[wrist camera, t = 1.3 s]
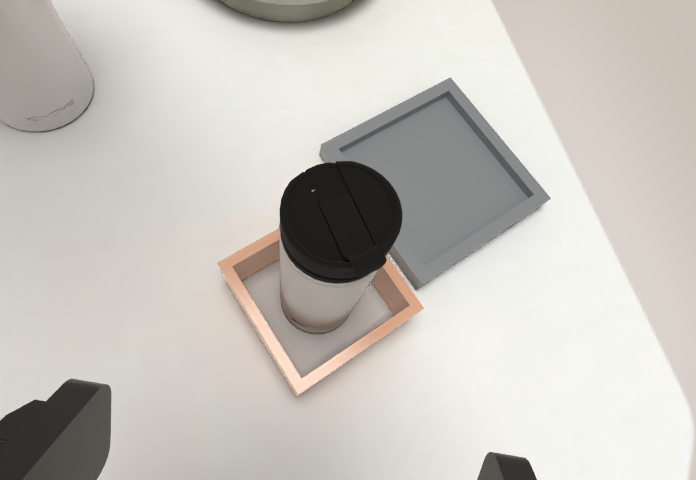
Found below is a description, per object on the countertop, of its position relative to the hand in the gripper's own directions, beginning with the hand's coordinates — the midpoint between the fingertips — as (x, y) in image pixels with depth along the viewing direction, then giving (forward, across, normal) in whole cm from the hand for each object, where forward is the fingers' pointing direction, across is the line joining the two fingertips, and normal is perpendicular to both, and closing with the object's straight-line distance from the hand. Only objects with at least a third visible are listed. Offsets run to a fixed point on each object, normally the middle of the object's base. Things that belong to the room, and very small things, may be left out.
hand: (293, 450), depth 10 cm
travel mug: (+30, +1, +12) cm, 32 cm away
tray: (+39, -8, +1) cm, 40 cm away
